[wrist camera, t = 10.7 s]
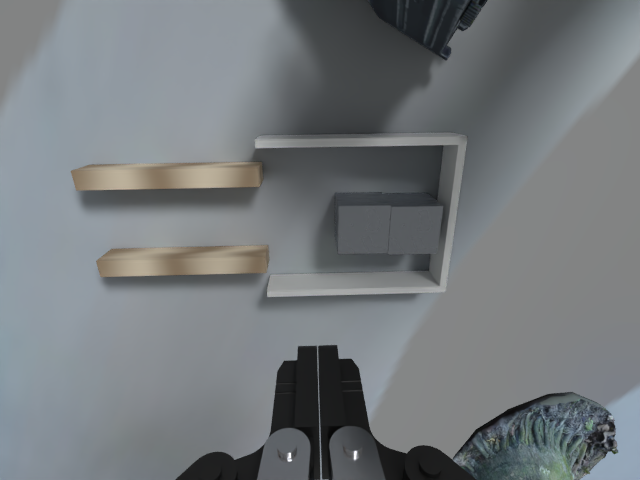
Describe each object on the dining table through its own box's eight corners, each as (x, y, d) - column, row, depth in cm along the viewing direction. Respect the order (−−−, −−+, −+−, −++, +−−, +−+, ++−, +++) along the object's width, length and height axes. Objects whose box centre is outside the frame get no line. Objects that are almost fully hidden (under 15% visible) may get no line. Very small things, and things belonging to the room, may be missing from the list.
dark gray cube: (427, 192, 31) (443, 206, 27) (422, 235, 32) (437, 253, 29) (381, 193, 31) (391, 206, 27) (378, 236, 32) (387, 254, 28)
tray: (452, 132, 29) (467, 136, 26) (434, 275, 34) (445, 292, 31) (259, 135, 28) (254, 139, 26) (270, 280, 33) (267, 296, 31)
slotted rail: (261, 161, 29) (258, 167, 27) (269, 260, 33) (266, 272, 30) (89, 164, 29) (70, 170, 27) (115, 263, 32) (100, 276, 30)
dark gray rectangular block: (381, 191, 31) (391, 205, 27) (378, 234, 32) (387, 253, 28) (335, 192, 31) (338, 206, 27) (334, 235, 32) (337, 253, 28)
